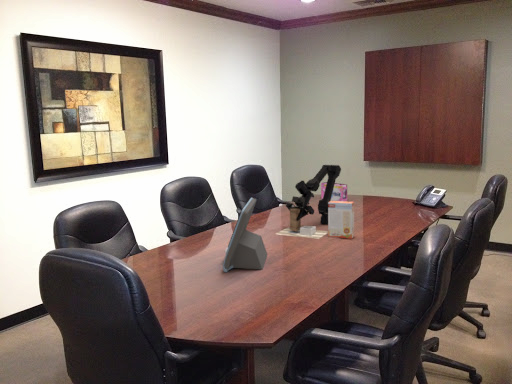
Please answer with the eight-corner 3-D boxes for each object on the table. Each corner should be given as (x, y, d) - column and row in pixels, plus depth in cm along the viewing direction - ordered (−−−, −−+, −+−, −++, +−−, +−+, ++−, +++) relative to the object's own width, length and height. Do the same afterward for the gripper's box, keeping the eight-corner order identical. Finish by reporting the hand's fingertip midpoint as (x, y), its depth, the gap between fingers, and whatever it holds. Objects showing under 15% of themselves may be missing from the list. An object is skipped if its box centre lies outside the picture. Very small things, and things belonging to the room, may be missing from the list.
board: (287, 228, 304) (287, 227, 304) (329, 232, 290) (329, 231, 290) (274, 235, 288) (274, 233, 288) (318, 239, 275) (318, 238, 275)
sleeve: (304, 231, 291) (304, 225, 291) (315, 233, 288) (315, 226, 287) (300, 234, 285) (299, 228, 284) (311, 235, 282) (311, 229, 281)
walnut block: (294, 228, 294) (294, 207, 292) (300, 229, 291) (300, 208, 289) (290, 230, 291) (289, 209, 289) (295, 231, 288) (295, 210, 286)
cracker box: (354, 236, 279) (354, 201, 276) (351, 239, 274) (352, 203, 270) (330, 234, 285) (330, 200, 282) (328, 237, 280) (327, 201, 276)
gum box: (349, 201, 388) (349, 184, 386) (342, 202, 384) (342, 185, 381) (327, 197, 407) (327, 181, 405) (320, 198, 402) (320, 182, 400)
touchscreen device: (232, 251, 257) (232, 196, 252) (268, 252, 255) (269, 197, 250) (219, 272, 223) (218, 209, 218) (261, 274, 220) (261, 210, 215)
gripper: (287, 189, 297) (275, 210, 291) (311, 192, 284) (299, 214, 278) (295, 200, 304) (284, 220, 298) (319, 203, 291) (308, 224, 285)
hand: (293, 219), depth 289 cm, fingers closed on walnut block, 4 cm apart
